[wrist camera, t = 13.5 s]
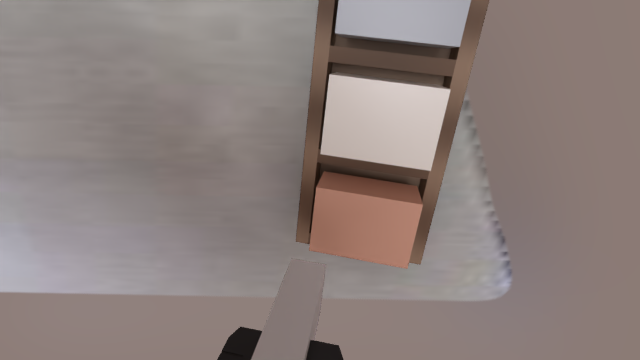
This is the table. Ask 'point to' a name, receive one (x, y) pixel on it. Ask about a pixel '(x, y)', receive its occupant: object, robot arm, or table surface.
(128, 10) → the table surface
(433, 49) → the wooden compartment tray
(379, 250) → the terracotta key
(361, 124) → the cream key
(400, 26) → the slate key
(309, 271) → the robot arm
